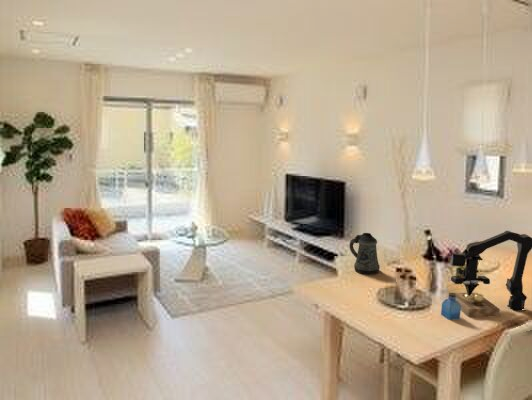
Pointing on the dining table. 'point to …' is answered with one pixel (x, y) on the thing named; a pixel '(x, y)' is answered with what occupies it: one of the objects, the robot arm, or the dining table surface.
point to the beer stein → (365, 254)
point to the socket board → (476, 306)
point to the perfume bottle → (451, 307)
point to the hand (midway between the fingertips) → (468, 295)
